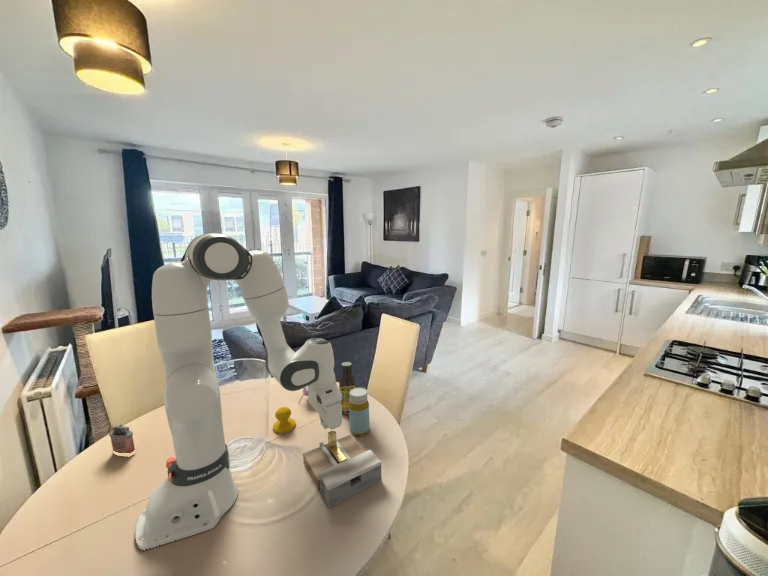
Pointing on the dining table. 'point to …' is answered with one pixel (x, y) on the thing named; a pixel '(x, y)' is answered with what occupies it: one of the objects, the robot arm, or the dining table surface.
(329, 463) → the door latch block
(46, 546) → the dining table surface
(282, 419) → the doorknob
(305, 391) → the lily
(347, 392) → the sauce bottle
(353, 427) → the bottle
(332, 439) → the bolt
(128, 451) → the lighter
